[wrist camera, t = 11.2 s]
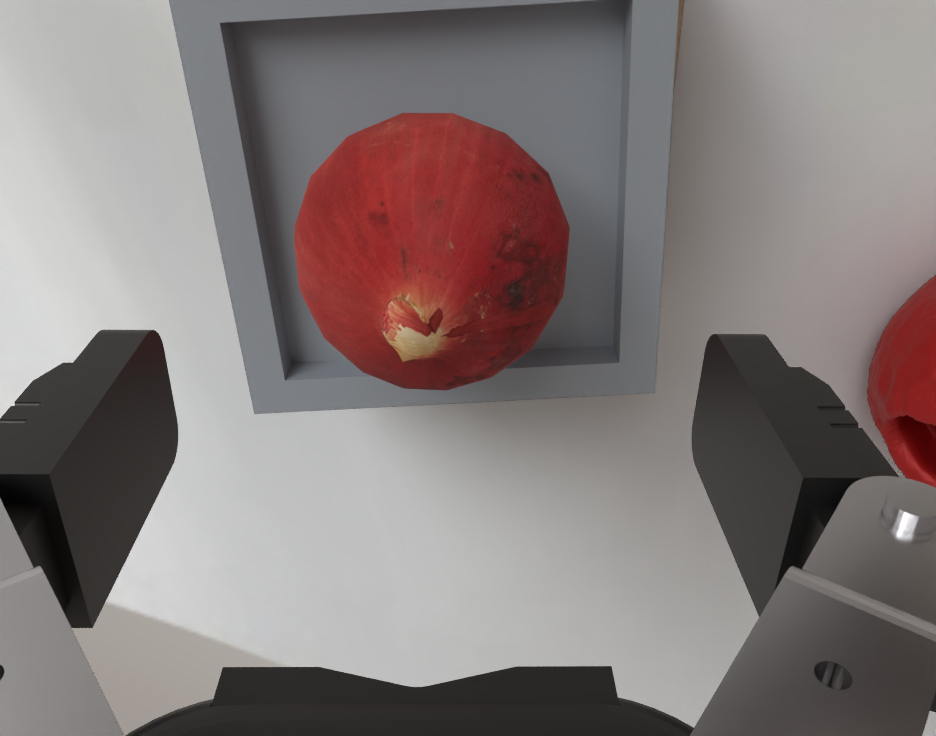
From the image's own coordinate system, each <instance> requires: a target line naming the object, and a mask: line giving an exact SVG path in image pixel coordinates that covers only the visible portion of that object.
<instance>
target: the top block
mask: <svg viewBox="0 0 936 736" xmlns="http://www.w3.org/2000/svg"><path fill="white" fill-rule="evenodd" d="M169 3H170V8H171V13H172V18H173V22H174V27H175V32H176V37H177V42H178V47H179V51H180V56H181V61H182V66H183V71H184V76H185V80H186V85H187V90H188V95H189V100H190V105H191V109H192V114H193V119H194V124H195V129H196V134H197V138H198V143H199V148H200V153H201V158H202V163H203V167H204V172H205V177H206V182H207V187H208V192H209V196H210V201H211V206H212V211H213V216H214V221H215V225H216V230H217V235H218V240H219V245H220V250H221V254H222V259H223V264H224V269H225V274H226V279H227V284H228V288H229V293H230V298H231V303H232V308H233V313H234V317H235V322H236V327H237V332H238V337H239V342H240V346H241V351H242V356H243V361H244V366H245V371H246V375H247V380H248V385H249V390H250V395H251V400H252V404H253V409H254V414H263V413H282V412H301V411H320V410H339V409H358V408H377V407H396V406H415V405H434V404H453V403H472V402H491V401H510V400H529V399H548V398H567V397H586V396H605V395H624V394H643V393H655V380H656V363H657V347H658V331H659V315H660V298H661V282H662V266H663V250H664V233H665V217H666V201H667V185H668V168H669V152H670V136H671V119H672V103H673V87H674V71H675V54H676V38H677V22H678V6H679V0H169ZM401 113H454V114H457V115H459V116H462V117H464V118H467V119H470V120H472V121H475V122H477V123H480V124H483V125H485V126H488V127H491V128H493V129H496V130H498V131H501V132H504V133H506V134H507V135H508V136H510V137H511V138H512V139H513V140H514V141H515V142H516V143H517V144H518V145H519V146H520V147H521V148H522V149H524V150H525V151H526V152H527V153H528V154H529V155H530V156H531V157H532V158H533V159H534V160H535V161H536V162H538V163H539V164H540V165H541V166H542V167H543V168H544V169H545V170H546V171H547V172H548V173H549V175H550V178H551V180H552V183H553V185H554V188H555V191H556V193H557V196H558V198H559V201H560V203H561V206H562V208H563V211H564V214H565V216H566V219H567V221H568V224H569V226H570V232H569V244H568V255H567V267H566V278H565V287H564V294H563V298H562V299H561V301H560V303H559V304H558V306H557V308H556V310H555V311H554V313H553V315H552V316H551V318H550V320H549V321H548V323H547V325H546V326H545V328H544V330H543V332H542V333H541V335H540V337H539V338H538V340H537V342H536V343H535V344H534V346H533V347H532V348H531V350H530V351H528V352H527V353H526V354H524V355H523V356H521V357H520V358H519V359H517V360H516V361H514V362H513V363H511V364H510V365H509V366H507V367H506V368H504V369H503V370H502V371H500V372H499V373H497V374H496V375H494V376H493V377H491V378H488V379H485V380H481V381H478V382H474V383H471V384H467V385H464V386H461V387H457V388H454V389H450V390H447V391H444V390H422V389H403V388H401V387H398V386H396V385H393V384H391V383H388V382H386V381H383V380H381V379H378V378H376V377H373V376H371V375H368V374H366V373H363V372H362V371H361V370H360V369H358V368H357V367H356V366H355V365H354V364H353V363H352V362H350V361H349V360H348V359H347V358H346V357H345V356H344V355H342V354H341V353H340V352H339V351H338V350H337V349H336V348H335V347H333V346H332V345H331V344H330V343H329V342H328V341H327V340H325V339H324V337H323V335H322V333H321V331H320V329H319V327H318V325H317V324H316V322H315V320H314V318H313V316H312V314H311V312H310V310H309V308H308V306H307V304H306V302H305V300H304V298H303V296H302V294H301V291H300V289H299V283H298V274H297V264H296V255H295V245H294V232H295V224H296V220H297V217H298V214H299V211H300V208H301V205H302V201H303V198H304V195H305V192H306V189H307V186H308V182H309V179H310V176H311V175H312V174H313V173H314V172H315V171H316V170H317V169H318V168H319V167H320V166H321V165H322V163H323V162H324V161H325V160H326V159H327V158H328V157H329V156H330V155H331V154H332V153H333V151H334V150H335V149H336V148H337V147H338V146H339V145H340V144H341V143H342V142H343V141H344V139H345V138H346V137H348V136H350V135H352V134H354V133H356V132H358V131H360V130H363V129H365V128H368V127H370V126H372V125H375V124H377V123H380V122H382V121H384V120H387V119H389V118H392V117H394V116H396V115H399V114H401Z"/></svg>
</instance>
